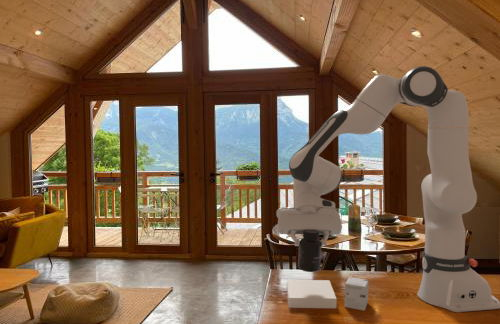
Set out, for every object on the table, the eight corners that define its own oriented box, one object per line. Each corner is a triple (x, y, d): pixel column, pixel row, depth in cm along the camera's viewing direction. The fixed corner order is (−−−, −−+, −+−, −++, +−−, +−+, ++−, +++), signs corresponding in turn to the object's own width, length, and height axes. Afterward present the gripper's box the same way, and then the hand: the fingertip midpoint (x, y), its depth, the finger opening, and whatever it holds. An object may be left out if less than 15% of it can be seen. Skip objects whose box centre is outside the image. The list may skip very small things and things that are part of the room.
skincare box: (344, 307, 118) (344, 283, 117) (348, 299, 123) (348, 276, 123) (365, 311, 115) (365, 286, 115) (368, 302, 121) (368, 279, 120)
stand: (329, 289, 131) (329, 280, 131) (336, 308, 117) (336, 298, 117) (286, 288, 132) (286, 279, 131) (288, 307, 118) (288, 297, 117)
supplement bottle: (319, 273, 120) (321, 235, 118) (297, 271, 121) (298, 233, 120) (320, 265, 126) (322, 229, 125) (298, 263, 128) (300, 227, 126)
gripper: (276, 202, 129) (276, 240, 120) (339, 202, 128) (345, 240, 119) (276, 212, 134) (276, 249, 125) (337, 213, 133) (342, 250, 124)
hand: (310, 245), depth 122 cm, fingers closed on supplement bottle, 7 cm apart
